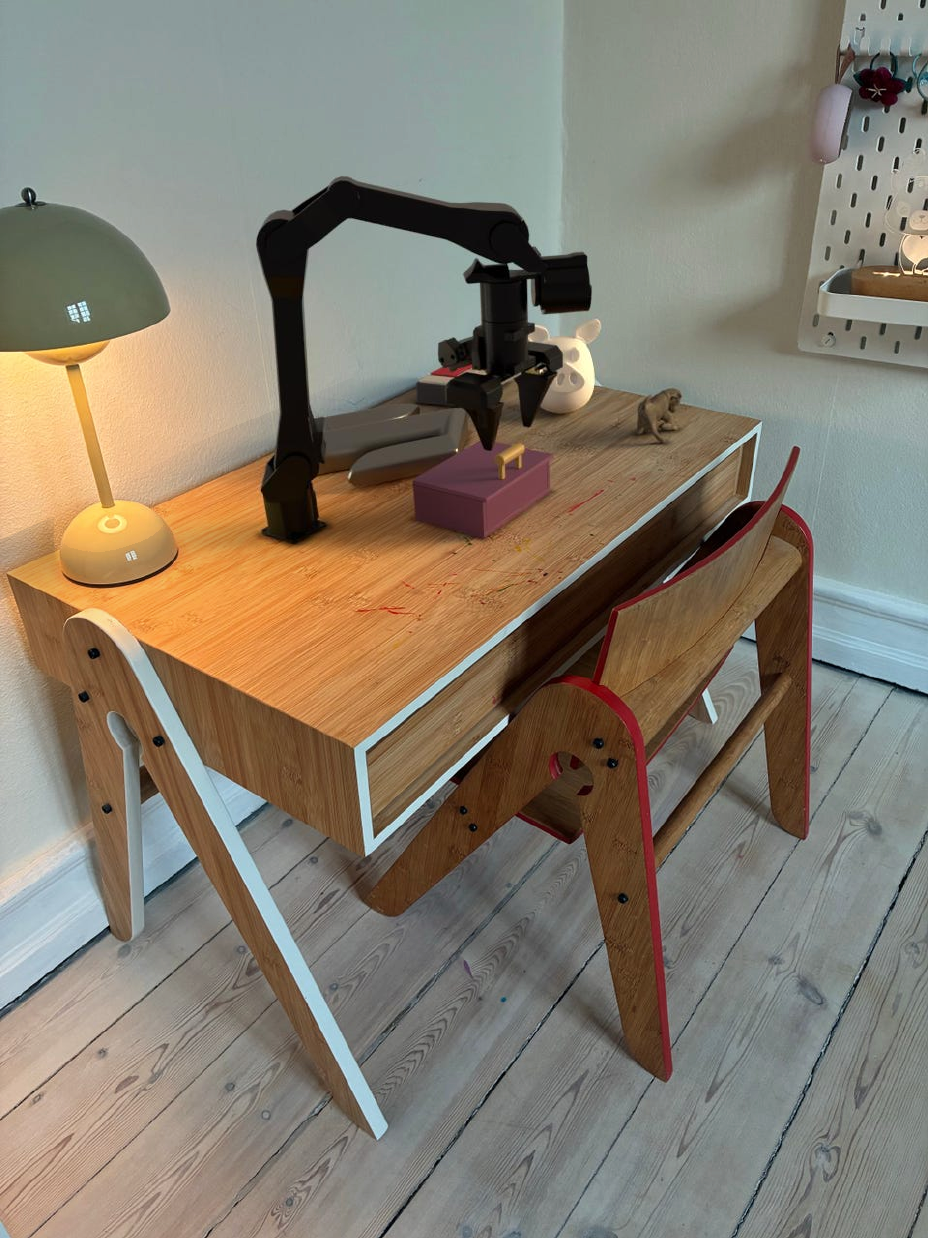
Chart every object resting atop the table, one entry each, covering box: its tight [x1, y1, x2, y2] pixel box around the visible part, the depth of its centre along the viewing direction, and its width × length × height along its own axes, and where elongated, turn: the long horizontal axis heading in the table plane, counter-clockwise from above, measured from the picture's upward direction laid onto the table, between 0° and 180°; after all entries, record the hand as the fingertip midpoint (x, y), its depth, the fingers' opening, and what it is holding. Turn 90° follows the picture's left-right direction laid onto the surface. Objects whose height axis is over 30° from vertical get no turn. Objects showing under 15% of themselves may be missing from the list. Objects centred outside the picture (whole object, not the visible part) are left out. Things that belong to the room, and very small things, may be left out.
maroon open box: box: [412, 460, 551, 539], centre depth 133 cm, size 11×16×5 cm
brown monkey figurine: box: [635, 387, 683, 444], centre depth 152 cm, size 12×6×7 cm, turn 145°
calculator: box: [415, 365, 508, 408], centre depth 173 cm, size 11×4×15 cm
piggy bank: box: [528, 318, 602, 414], centre depth 160 cm, size 12×12×15 cm
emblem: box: [317, 403, 469, 488], centre depth 150 cm, size 28×5×28 cm
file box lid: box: [411, 440, 554, 503], centre depth 130 cm, size 12×16×4 cm
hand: (508, 438), depth 126 cm, fingers open, 9 cm apart
